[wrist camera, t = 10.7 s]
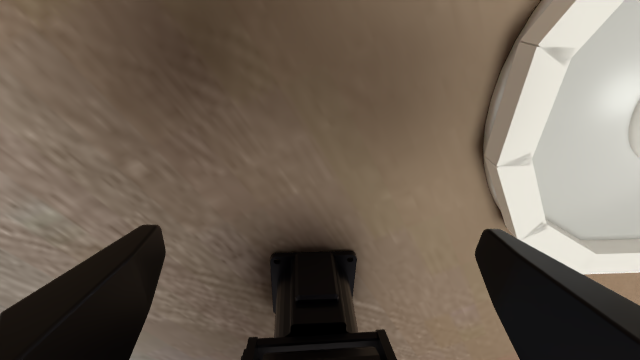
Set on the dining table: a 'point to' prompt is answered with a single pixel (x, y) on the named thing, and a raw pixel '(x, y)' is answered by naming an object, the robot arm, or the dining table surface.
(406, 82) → the dining table surface
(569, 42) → the ring tray
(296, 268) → the robot arm
